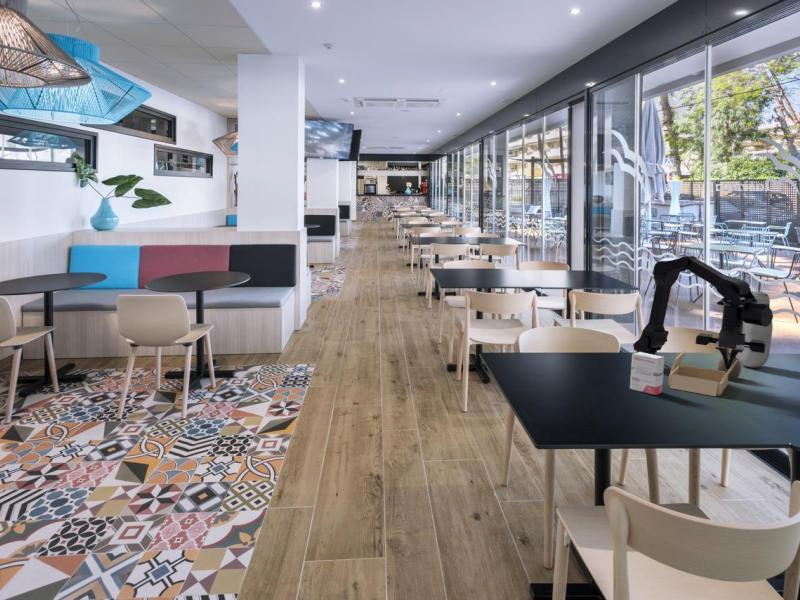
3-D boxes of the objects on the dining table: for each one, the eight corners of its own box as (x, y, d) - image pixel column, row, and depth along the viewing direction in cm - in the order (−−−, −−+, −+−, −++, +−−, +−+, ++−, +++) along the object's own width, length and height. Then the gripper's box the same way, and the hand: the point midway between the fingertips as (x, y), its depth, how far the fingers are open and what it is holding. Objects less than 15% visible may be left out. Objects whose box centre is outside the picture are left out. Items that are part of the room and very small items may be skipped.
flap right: (720, 380, 170) (730, 367, 168) (727, 371, 179) (736, 359, 177) (722, 381, 170) (732, 368, 167) (728, 372, 179) (738, 360, 177)
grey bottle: (748, 362, 208) (755, 289, 204) (773, 369, 199) (782, 293, 194) (728, 364, 205) (735, 290, 201) (753, 371, 196) (761, 294, 191)
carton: (666, 387, 178) (667, 374, 177) (678, 375, 191) (679, 363, 190) (719, 397, 168) (720, 383, 168) (728, 384, 182) (729, 371, 181)
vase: (743, 381, 184) (746, 356, 183) (721, 380, 186) (723, 355, 184) (735, 375, 191) (738, 351, 189) (713, 374, 192) (716, 350, 191)
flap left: (679, 364, 188) (685, 351, 186) (671, 372, 178) (677, 358, 177) (678, 364, 188) (683, 351, 186) (669, 372, 179) (675, 358, 177)
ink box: (663, 392, 173) (666, 356, 171) (655, 395, 170) (658, 358, 168) (636, 385, 180) (639, 350, 178) (629, 388, 177) (631, 353, 175)
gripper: (694, 321, 171) (689, 369, 173) (765, 328, 159) (759, 380, 162) (701, 315, 179) (696, 362, 182) (769, 322, 168) (763, 372, 170)
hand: (727, 369), depth 173 cm, fingers closed
